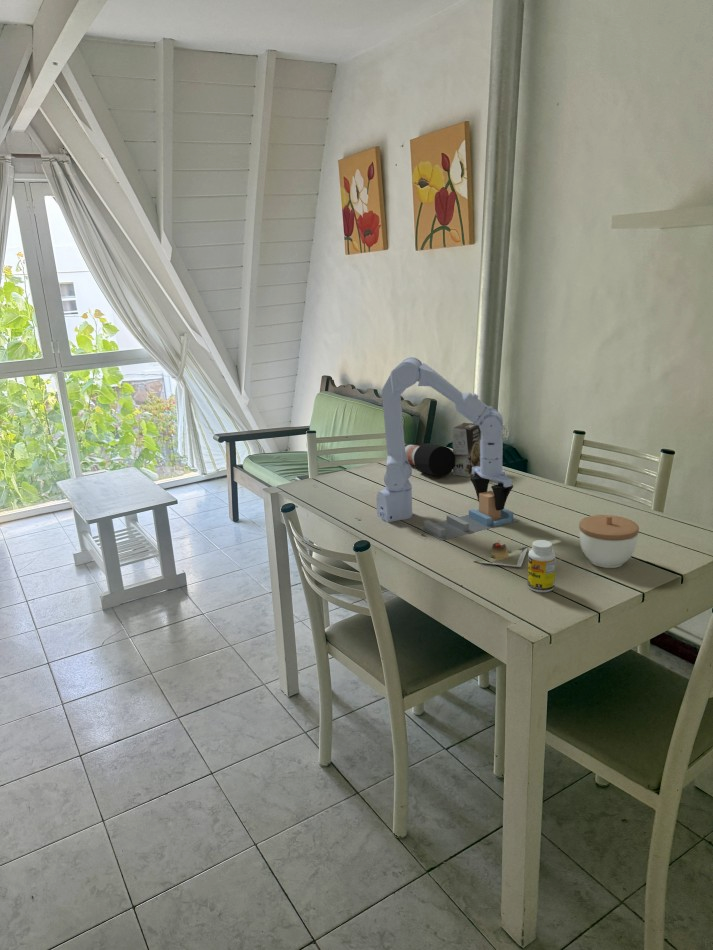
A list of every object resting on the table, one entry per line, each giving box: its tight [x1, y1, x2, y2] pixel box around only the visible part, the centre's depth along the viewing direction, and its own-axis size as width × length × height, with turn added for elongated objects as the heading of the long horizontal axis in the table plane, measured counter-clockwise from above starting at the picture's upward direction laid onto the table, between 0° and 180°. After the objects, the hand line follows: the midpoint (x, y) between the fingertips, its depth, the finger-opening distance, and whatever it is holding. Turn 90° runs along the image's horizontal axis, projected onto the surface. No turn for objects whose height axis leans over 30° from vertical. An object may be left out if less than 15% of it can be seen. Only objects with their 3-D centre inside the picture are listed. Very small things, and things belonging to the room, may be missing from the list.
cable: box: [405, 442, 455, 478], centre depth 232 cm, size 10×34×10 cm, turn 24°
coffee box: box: [452, 422, 481, 478], centre depth 221 cm, size 9×6×16 cm
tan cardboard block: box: [478, 490, 500, 521], centre depth 179 cm, size 4×4×7 cm
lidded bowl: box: [578, 514, 640, 569], centre depth 151 cm, size 13×13×11 cm
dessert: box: [473, 538, 529, 568], centre depth 159 cm, size 12×12×5 cm
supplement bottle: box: [527, 539, 557, 593], centre depth 141 cm, size 6×6×10 cm
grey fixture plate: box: [417, 507, 520, 541], centre depth 177 cm, size 25×11×3 cm, turn 117°
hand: (490, 505), depth 179 cm, fingers open, 7 cm apart
